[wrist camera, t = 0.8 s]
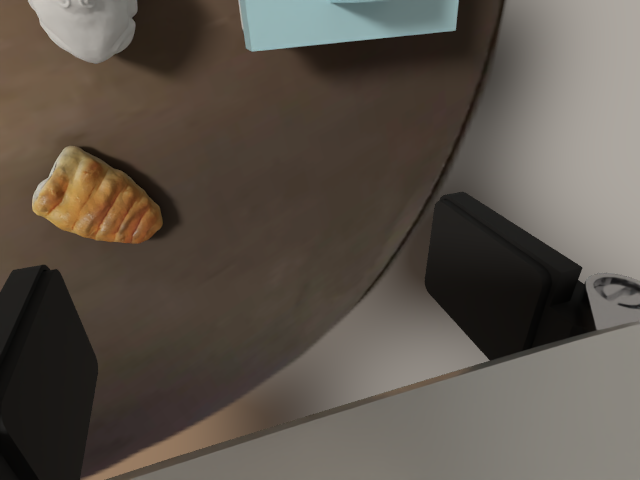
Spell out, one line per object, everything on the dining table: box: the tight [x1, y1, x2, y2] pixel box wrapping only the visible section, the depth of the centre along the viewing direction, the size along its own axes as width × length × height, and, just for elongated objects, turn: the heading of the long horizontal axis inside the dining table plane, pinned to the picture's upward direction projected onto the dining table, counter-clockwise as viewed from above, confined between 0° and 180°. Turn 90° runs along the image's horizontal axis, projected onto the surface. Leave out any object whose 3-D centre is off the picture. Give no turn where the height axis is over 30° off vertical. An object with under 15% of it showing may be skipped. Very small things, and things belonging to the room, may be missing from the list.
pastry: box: [32, 146, 163, 243], centre depth 34 cm, size 9×7×4 cm
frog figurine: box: [28, 0, 138, 64], centre depth 25 cm, size 6×7×7 cm
